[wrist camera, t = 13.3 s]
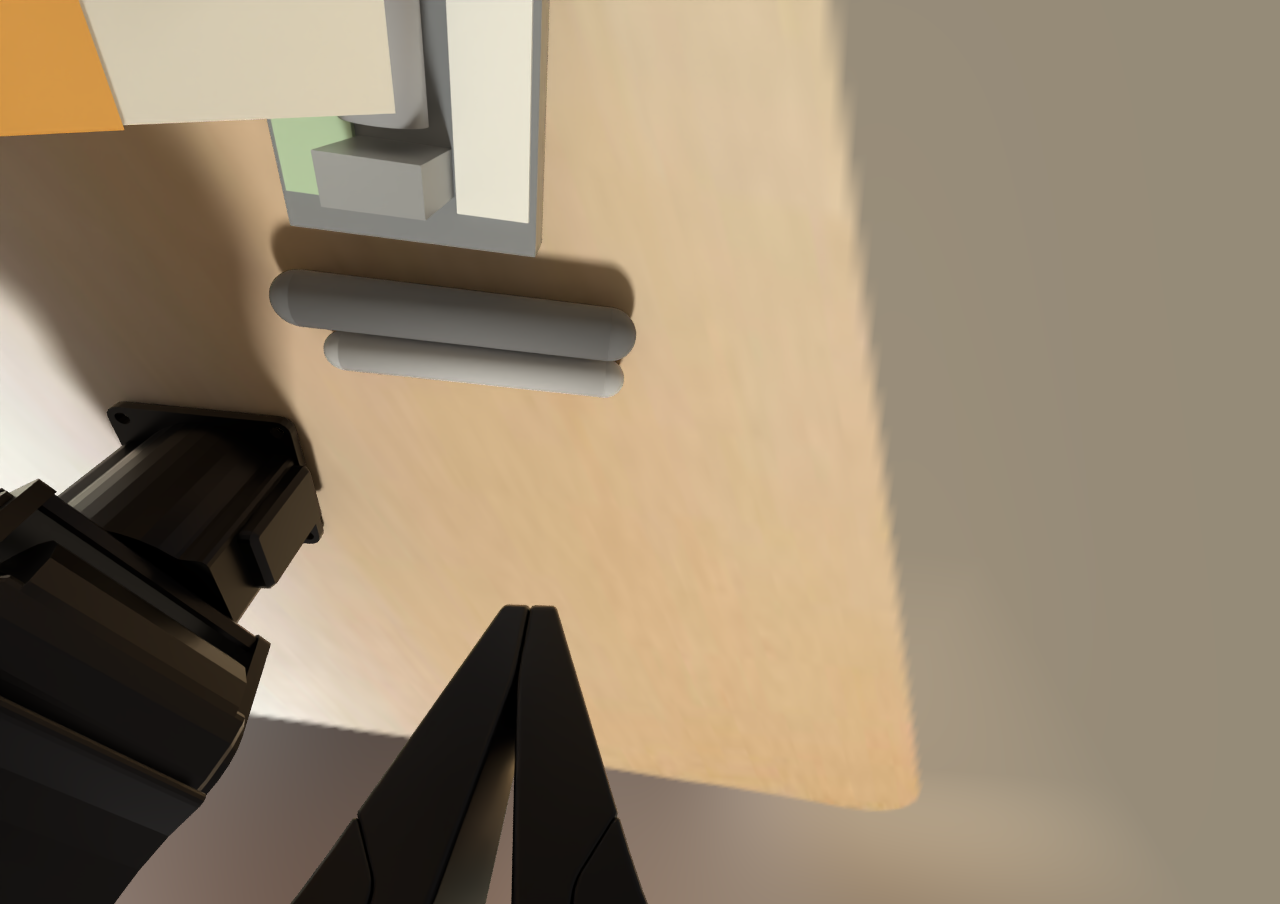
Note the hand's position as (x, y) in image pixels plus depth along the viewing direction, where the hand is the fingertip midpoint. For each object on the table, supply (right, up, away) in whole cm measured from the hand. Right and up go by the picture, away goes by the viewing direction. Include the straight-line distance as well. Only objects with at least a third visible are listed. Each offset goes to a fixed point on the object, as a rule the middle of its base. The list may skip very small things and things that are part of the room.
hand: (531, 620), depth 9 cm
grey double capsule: (-4, +7, +11) cm, 14 cm away
